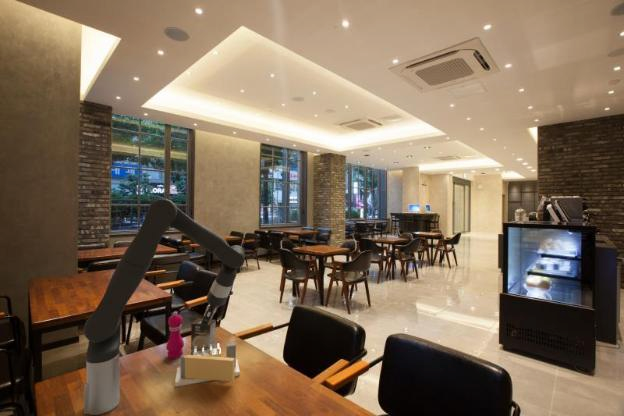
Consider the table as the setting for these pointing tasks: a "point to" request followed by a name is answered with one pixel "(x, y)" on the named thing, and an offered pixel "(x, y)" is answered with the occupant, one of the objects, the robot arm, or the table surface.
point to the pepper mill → (175, 337)
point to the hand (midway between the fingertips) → (204, 324)
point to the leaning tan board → (207, 367)
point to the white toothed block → (208, 351)
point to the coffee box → (202, 335)
